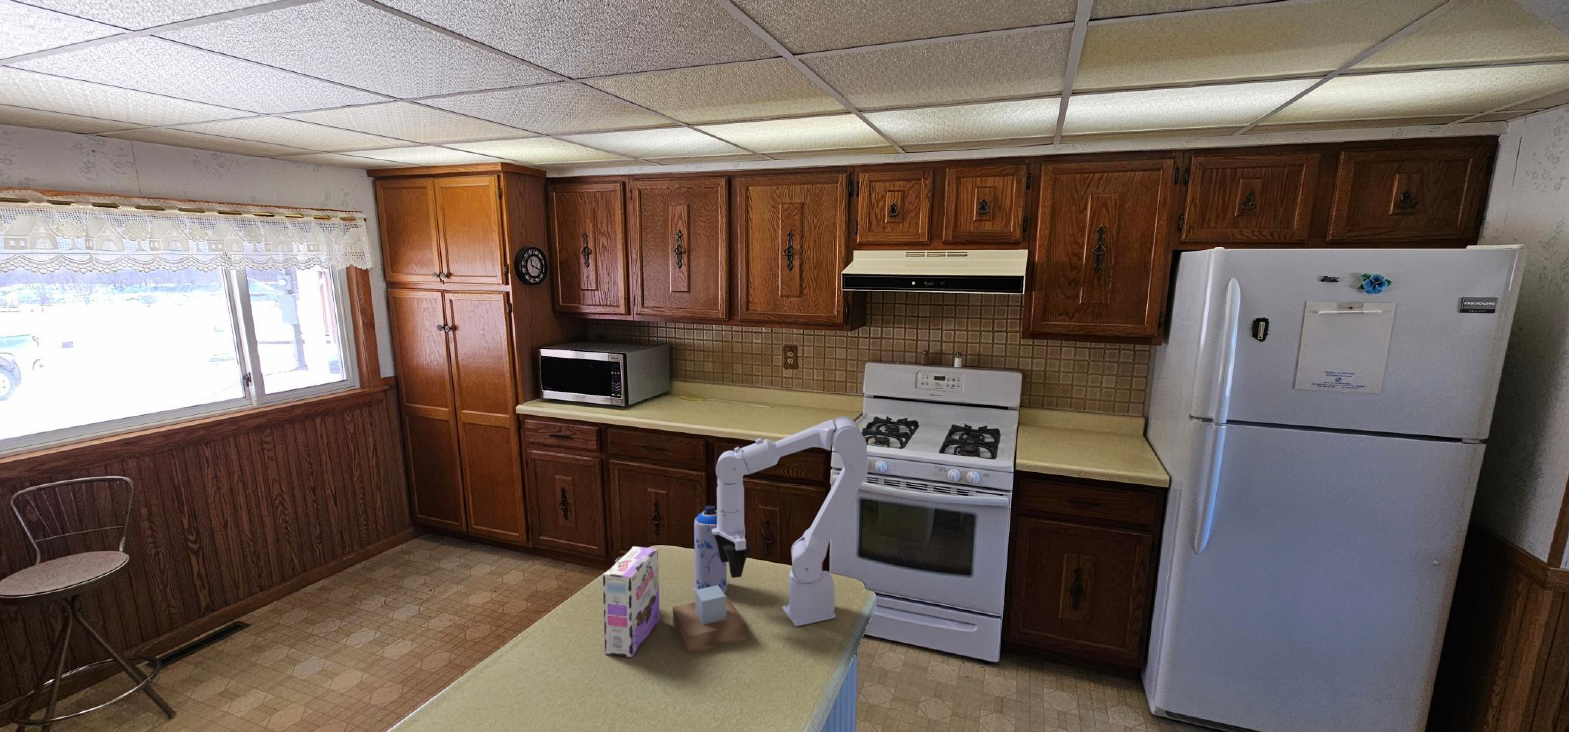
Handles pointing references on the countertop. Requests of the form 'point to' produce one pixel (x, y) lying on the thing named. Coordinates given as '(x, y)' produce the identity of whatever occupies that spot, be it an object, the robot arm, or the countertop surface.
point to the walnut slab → (708, 628)
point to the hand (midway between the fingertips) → (731, 568)
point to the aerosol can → (708, 552)
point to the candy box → (631, 601)
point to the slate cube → (710, 604)
